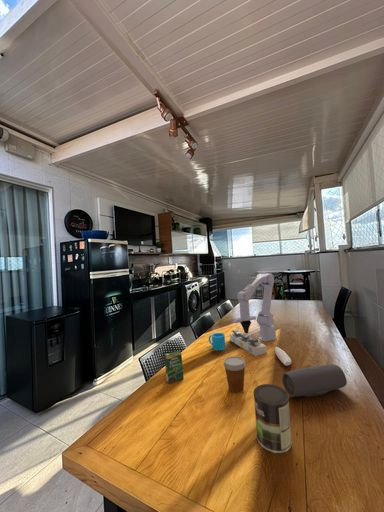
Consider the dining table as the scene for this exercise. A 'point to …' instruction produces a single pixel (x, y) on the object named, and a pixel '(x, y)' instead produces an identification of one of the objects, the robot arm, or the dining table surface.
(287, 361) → the white corn cob
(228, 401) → the dining table surface
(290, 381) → the bluetooth speaker
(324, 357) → the dining table surface
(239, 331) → the dark grey block
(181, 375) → the coffee box
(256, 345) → the power strip
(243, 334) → the rocker dark gray
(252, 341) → the rocker slate
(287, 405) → the coffee can
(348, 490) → the dining table surface
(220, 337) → the mug
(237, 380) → the disposable coffee cup
